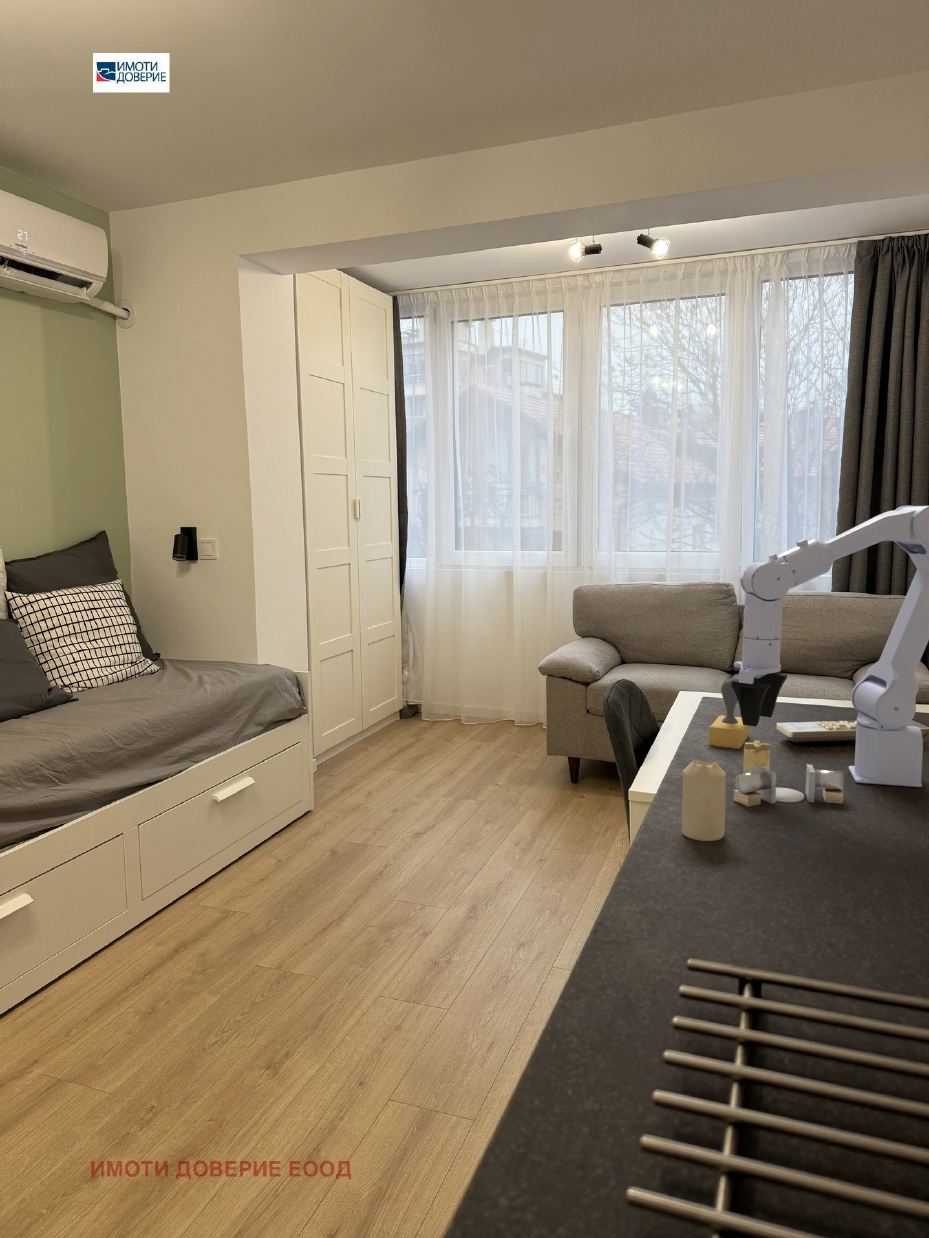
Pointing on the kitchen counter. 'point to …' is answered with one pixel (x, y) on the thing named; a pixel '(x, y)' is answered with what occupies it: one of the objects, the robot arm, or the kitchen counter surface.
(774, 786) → the shaft
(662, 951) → the kitchen counter surface
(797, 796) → the seat
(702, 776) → the candle
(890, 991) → the kitchen counter surface
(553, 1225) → the kitchen counter surface
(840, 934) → the kitchen counter surface
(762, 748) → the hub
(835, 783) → the shaft
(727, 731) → the rubber stamp
